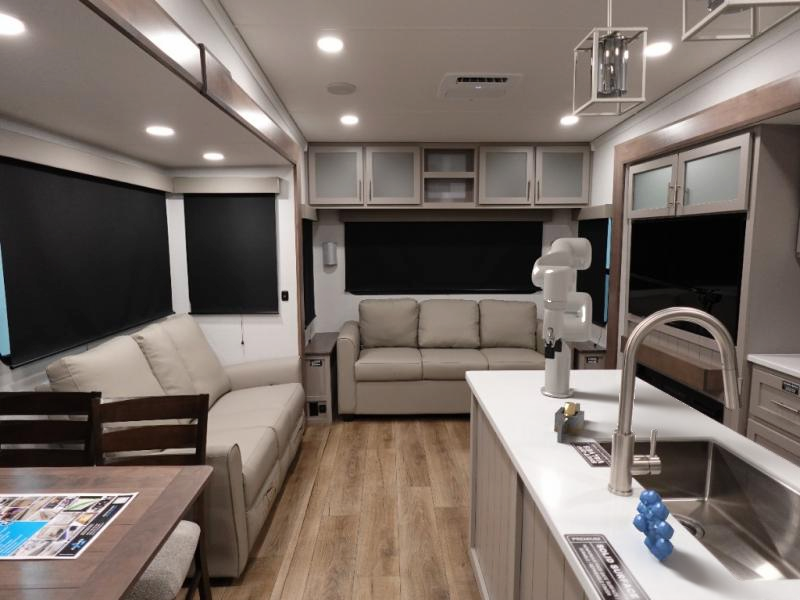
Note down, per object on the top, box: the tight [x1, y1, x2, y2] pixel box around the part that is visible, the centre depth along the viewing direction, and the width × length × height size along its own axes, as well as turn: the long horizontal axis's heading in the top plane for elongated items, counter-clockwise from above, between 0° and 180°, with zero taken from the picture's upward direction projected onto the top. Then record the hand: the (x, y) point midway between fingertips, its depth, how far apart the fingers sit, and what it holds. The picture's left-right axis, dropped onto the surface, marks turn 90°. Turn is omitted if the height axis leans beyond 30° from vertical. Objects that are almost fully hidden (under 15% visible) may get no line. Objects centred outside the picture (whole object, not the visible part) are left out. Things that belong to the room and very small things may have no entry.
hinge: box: [553, 402, 585, 444], centre depth 155 cm, size 24×8×6 cm, turn 146°
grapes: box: [632, 489, 675, 562], centre depth 94 cm, size 12×7×12 cm, turn 177°
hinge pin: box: [564, 401, 576, 416], centre depth 155 cm, size 3×3×9 cm
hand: (553, 355), depth 161 cm, fingers open, 9 cm apart
